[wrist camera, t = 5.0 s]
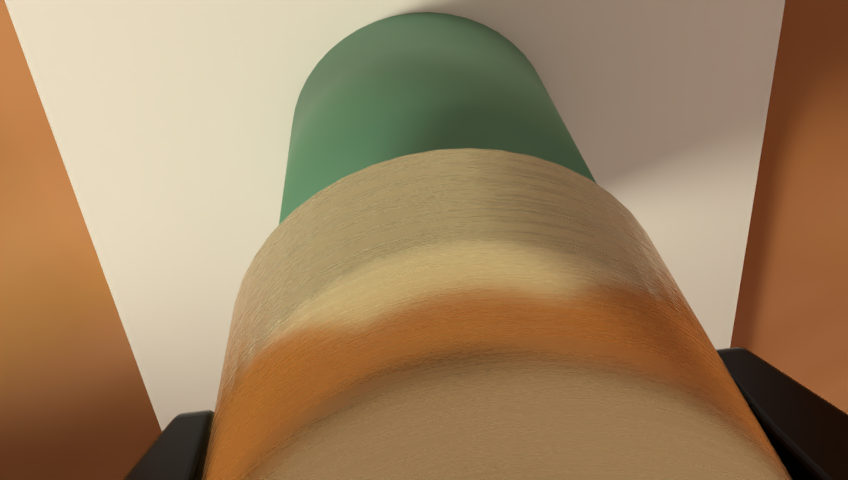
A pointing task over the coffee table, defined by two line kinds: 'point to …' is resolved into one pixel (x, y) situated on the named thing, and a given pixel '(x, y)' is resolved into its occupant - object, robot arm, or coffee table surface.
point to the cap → (473, 339)
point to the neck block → (383, 131)
